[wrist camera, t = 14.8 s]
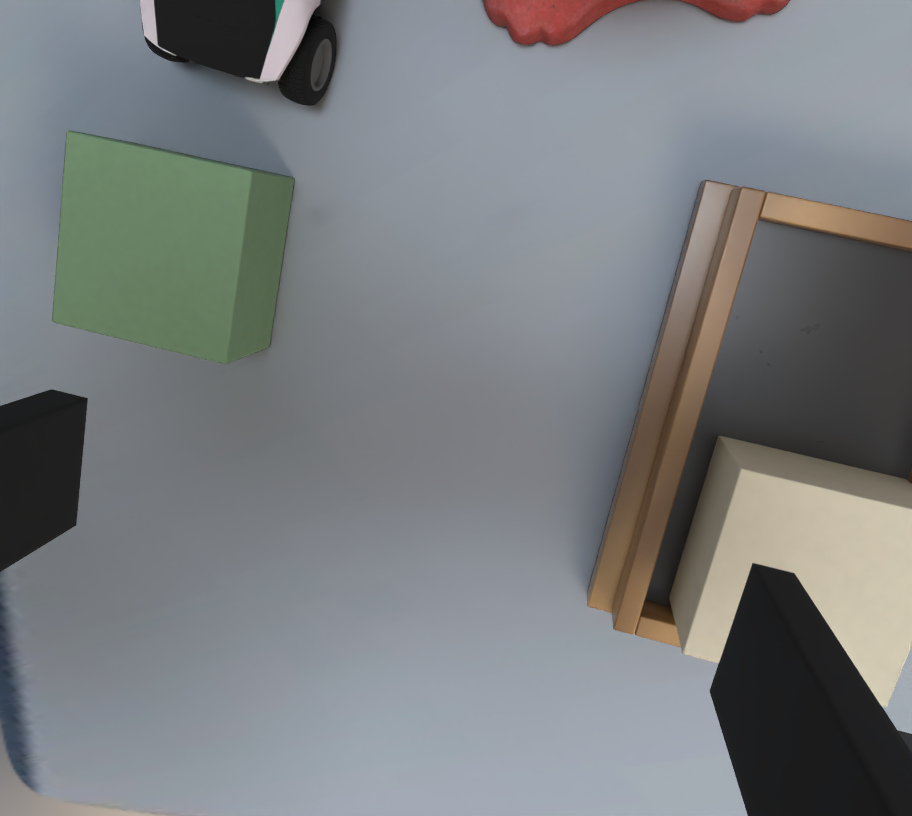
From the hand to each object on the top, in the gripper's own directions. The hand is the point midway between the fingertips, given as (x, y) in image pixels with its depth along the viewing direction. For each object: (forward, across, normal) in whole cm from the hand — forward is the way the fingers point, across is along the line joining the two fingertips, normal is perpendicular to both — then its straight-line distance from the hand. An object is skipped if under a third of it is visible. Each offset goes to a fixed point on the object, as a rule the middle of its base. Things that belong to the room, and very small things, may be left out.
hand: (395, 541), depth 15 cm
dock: (+15, +11, +1) cm, 19 cm away
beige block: (+14, +12, -3) cm, 19 cm away
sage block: (+15, -12, +3) cm, 19 cm away
